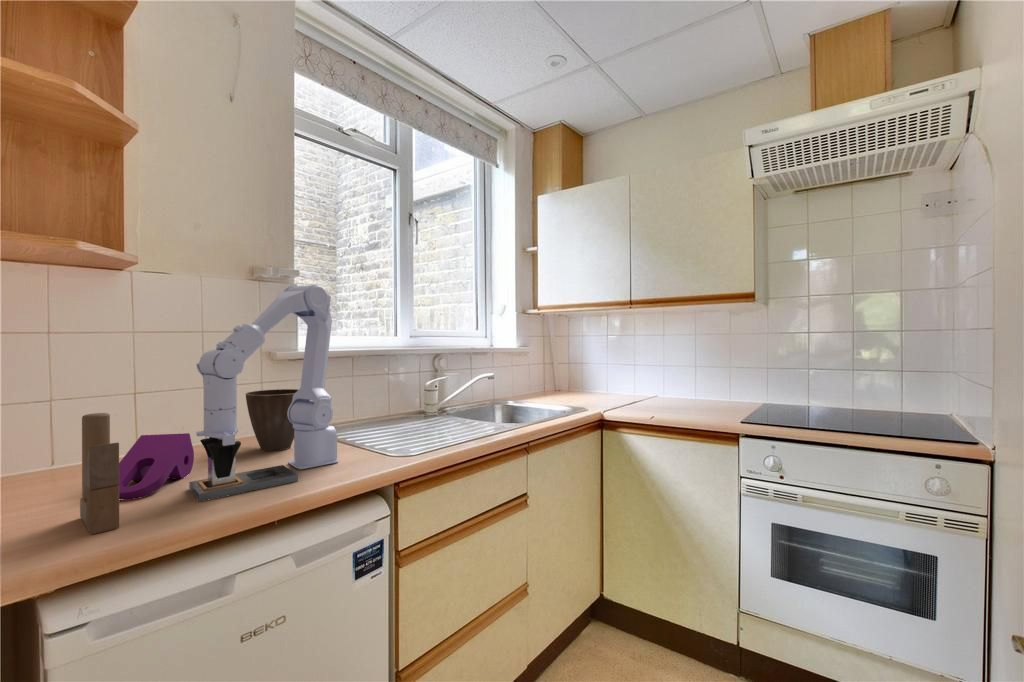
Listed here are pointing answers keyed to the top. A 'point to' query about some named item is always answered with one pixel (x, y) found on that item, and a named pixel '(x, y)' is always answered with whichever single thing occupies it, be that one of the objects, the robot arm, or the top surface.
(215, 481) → the metal block with hole
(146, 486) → the mounting bracket
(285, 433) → the plant pot
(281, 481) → the grey holder tray
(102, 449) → the wooden block
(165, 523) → the top surface
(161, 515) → the top surface
